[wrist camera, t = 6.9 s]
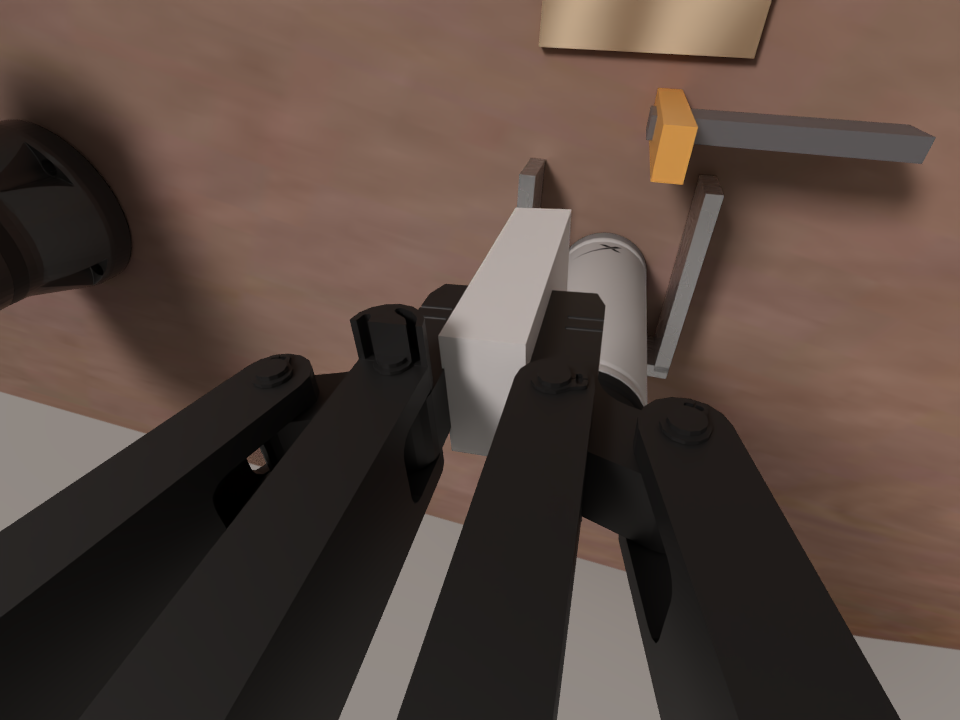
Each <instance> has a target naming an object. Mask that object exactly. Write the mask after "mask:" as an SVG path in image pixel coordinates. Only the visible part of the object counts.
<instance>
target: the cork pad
mask: <svg viewBox="0 0 960 720" xmlns="http://www.w3.org/2000/svg"><path fill="white" fill-rule="evenodd" d="M771 1H772V0H542V13H541V25H540V37H539V47H553V48H571V49H590V50H608V51H626V52H645V53H663V54H682V55H700V56H719V57H737V58H754V57H755V53H756V50H757V47H758V44H759V40H760V37H761V34H762V30H763V27H764V24H765V21H766V17H767V14H768V11H769V7H770V4H771Z"/></svg>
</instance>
